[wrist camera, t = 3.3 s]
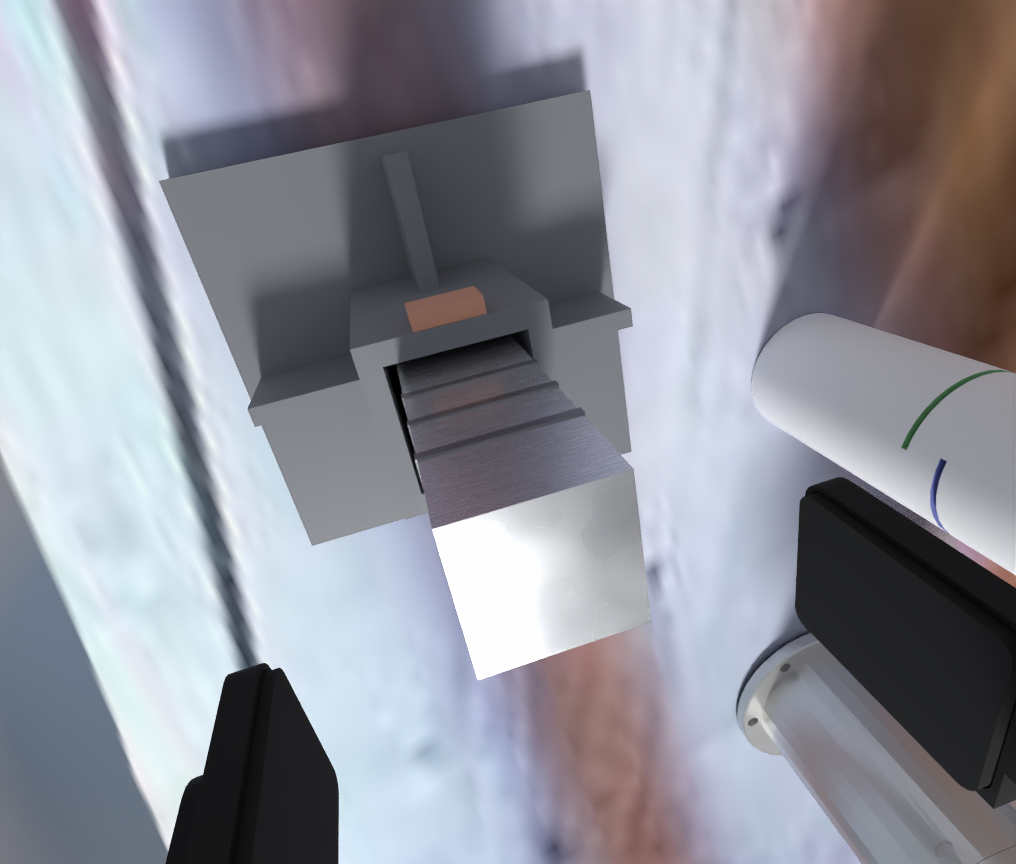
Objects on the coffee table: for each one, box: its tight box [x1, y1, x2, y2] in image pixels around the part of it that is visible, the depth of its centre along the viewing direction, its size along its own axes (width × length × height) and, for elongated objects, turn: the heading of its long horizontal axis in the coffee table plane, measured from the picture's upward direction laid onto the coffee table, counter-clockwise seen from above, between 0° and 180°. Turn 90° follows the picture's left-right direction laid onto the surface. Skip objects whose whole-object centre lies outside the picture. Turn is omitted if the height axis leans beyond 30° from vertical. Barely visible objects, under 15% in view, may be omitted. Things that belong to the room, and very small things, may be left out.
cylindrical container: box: [751, 313, 1016, 575], centre depth 25 cm, size 7×7×25 cm
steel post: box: [396, 334, 651, 680], centre depth 20 cm, size 4×4×18 cm
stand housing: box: [159, 90, 633, 546], centre depth 25 cm, size 18×18×11 cm
